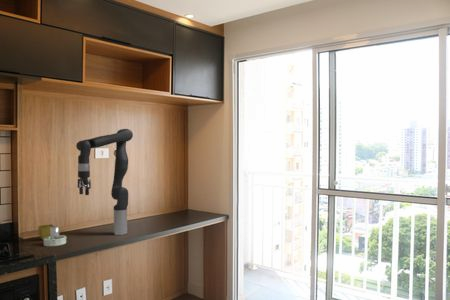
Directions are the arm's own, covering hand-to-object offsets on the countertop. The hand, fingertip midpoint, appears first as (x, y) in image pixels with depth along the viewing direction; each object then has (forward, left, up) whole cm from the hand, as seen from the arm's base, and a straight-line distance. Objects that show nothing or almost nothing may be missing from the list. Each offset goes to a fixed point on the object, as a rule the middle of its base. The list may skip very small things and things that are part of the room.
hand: (84, 194), depth 245 cm
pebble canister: (+7, -17, -29) cm, 34 cm away
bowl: (+7, -16, -30) cm, 35 cm away
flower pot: (-9, -26, -30) cm, 41 cm away
